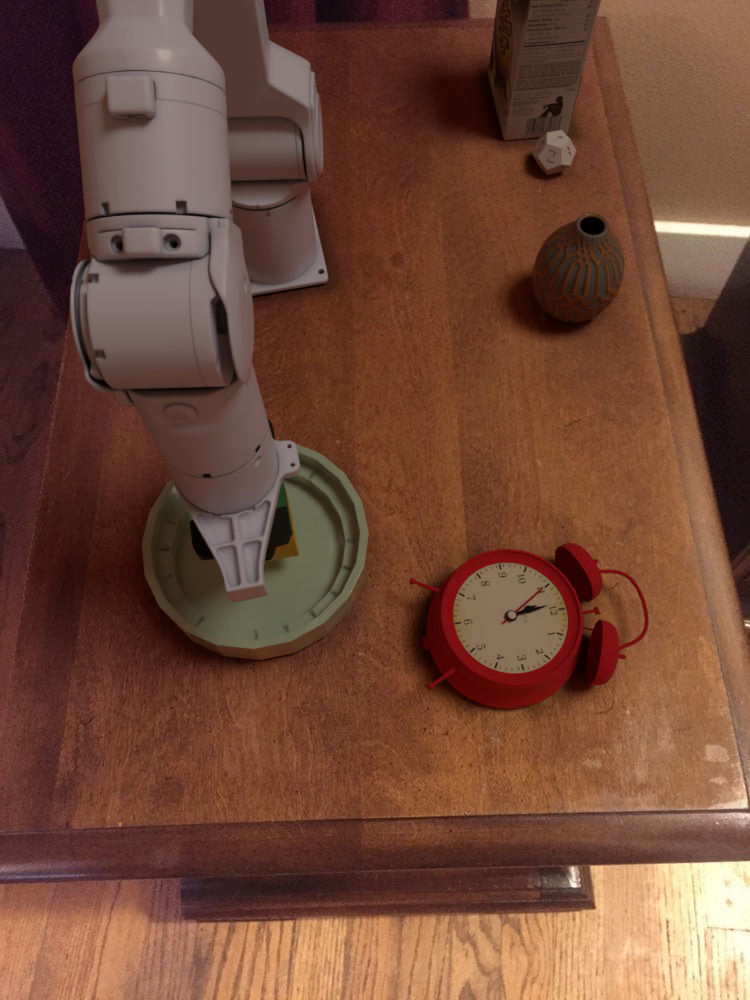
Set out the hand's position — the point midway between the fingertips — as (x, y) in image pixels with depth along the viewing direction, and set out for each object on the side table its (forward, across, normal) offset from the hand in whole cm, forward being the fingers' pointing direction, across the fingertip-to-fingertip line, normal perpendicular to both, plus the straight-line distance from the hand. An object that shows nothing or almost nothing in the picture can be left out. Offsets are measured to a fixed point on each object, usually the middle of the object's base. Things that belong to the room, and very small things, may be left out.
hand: (252, 530), depth 54 cm
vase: (+5, +17, -28) cm, 33 cm away
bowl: (+5, 0, 0) cm, 5 cm away
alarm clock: (+5, -9, -17) cm, 20 cm away
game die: (+5, +32, -31) cm, 45 cm away
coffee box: (+5, +40, -31) cm, 51 cm away
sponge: (+2, 0, 0) cm, 2 cm away
